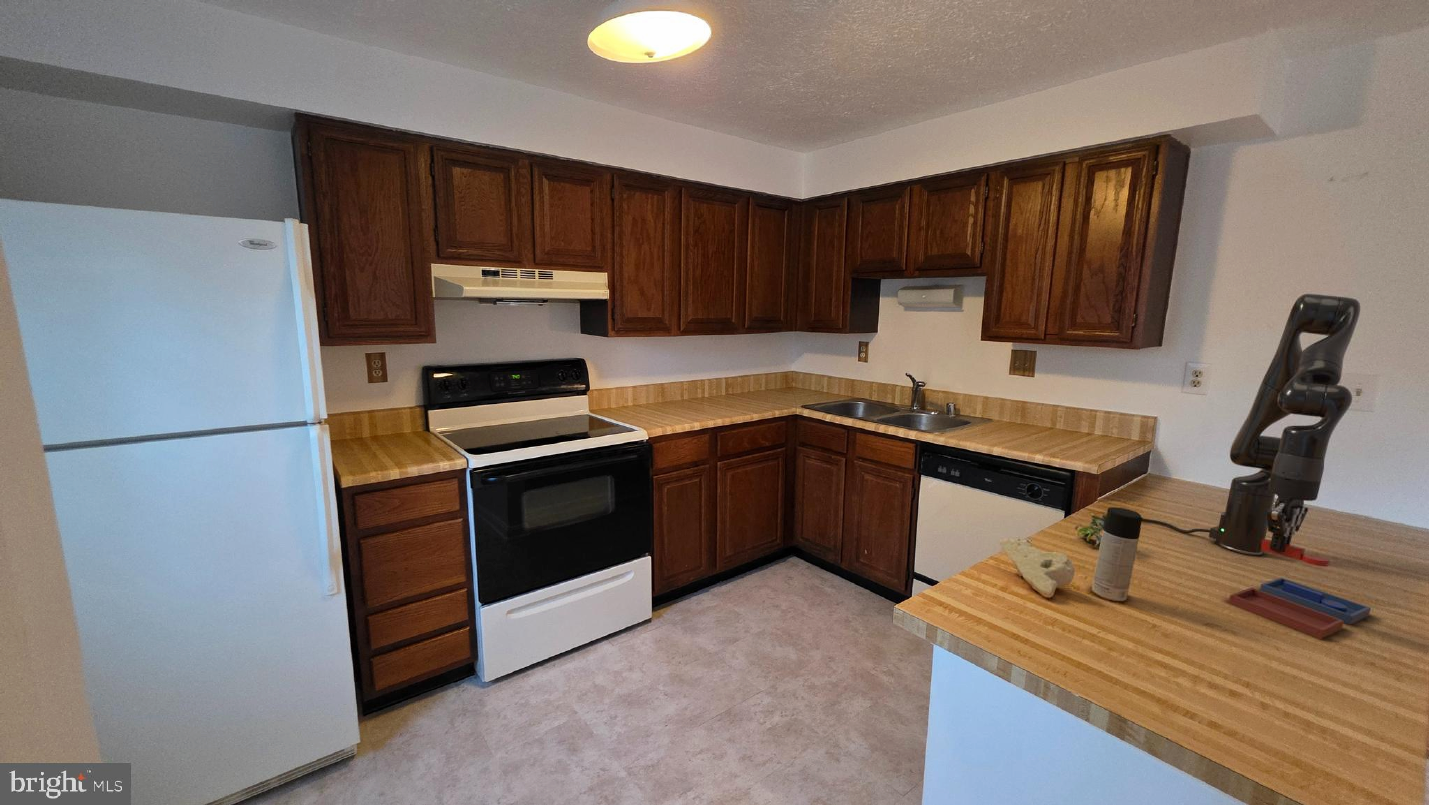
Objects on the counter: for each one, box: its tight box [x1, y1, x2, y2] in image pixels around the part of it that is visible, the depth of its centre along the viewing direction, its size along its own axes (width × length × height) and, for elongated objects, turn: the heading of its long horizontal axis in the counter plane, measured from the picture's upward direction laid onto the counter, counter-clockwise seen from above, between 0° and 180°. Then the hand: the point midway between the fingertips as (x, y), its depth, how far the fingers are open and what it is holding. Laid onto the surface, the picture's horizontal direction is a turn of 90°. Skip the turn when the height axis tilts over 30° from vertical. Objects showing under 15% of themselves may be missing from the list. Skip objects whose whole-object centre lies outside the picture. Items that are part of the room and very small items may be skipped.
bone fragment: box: [999, 537, 1075, 599], centre depth 131 cm, size 15×7×15 cm
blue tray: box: [1259, 577, 1372, 626], centre depth 130 cm, size 15×10×2 cm
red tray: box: [1228, 587, 1344, 640], centre depth 123 cm, size 15×10×2 cm
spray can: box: [1091, 506, 1143, 602], centre depth 127 cm, size 7×7×20 cm
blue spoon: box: [1282, 581, 1347, 613], centre depth 130 cm, size 10×4×2 cm, turn 26°
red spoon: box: [1261, 538, 1331, 568], centre depth 122 cm, size 10×4×2 cm, turn 26°
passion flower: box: [1074, 512, 1107, 549], centre depth 156 cm, size 11×11×12 cm
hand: (1278, 550), depth 124 cm, fingers closed on red spoon, 1 cm apart
